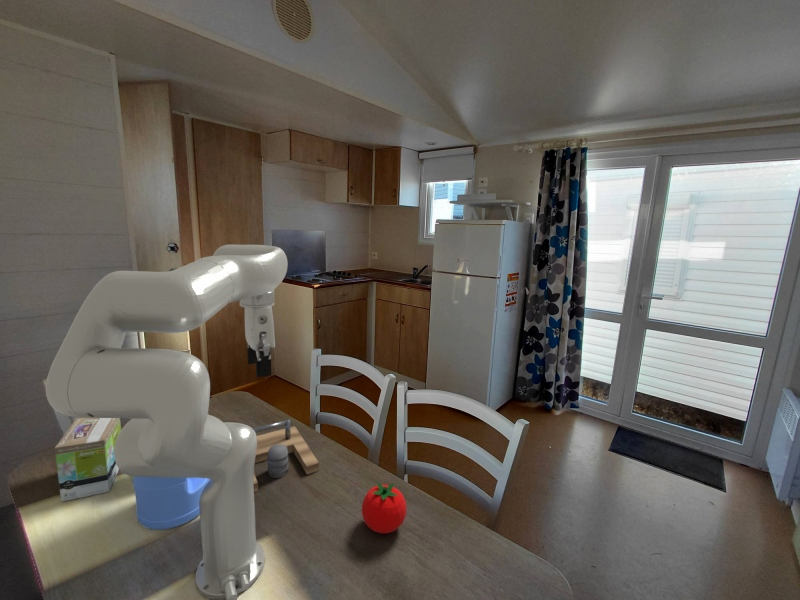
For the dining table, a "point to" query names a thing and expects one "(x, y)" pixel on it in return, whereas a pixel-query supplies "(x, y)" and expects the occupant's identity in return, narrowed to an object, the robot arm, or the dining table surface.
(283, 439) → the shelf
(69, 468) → the tea box
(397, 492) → the tomato
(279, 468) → the coil
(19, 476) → the dining table surface
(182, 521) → the water jug
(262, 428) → the metal bar handle
